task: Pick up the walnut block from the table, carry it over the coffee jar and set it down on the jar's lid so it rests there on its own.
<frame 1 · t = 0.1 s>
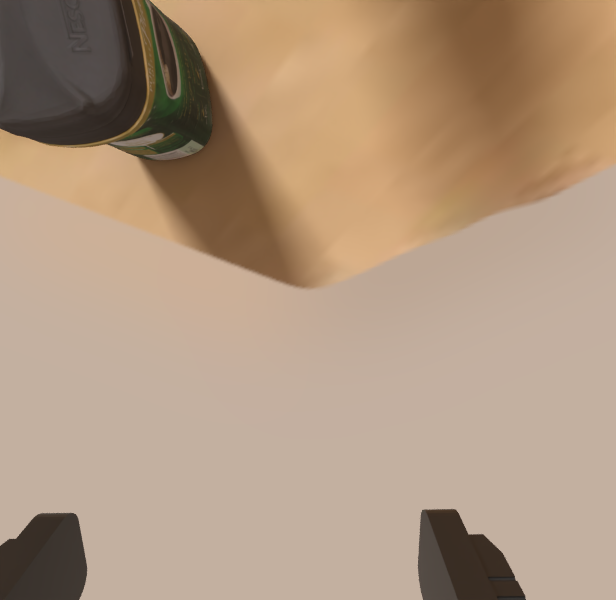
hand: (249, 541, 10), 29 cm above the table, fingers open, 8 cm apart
coffee jar: (163, 99, 35), on the table
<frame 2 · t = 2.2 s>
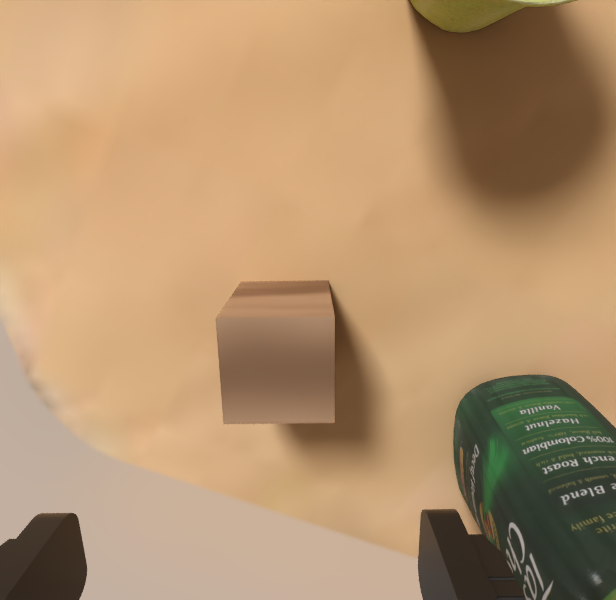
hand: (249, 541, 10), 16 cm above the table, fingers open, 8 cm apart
walnut block: (285, 322, 26), on the table
coffee jar: (507, 437, 28), on the table
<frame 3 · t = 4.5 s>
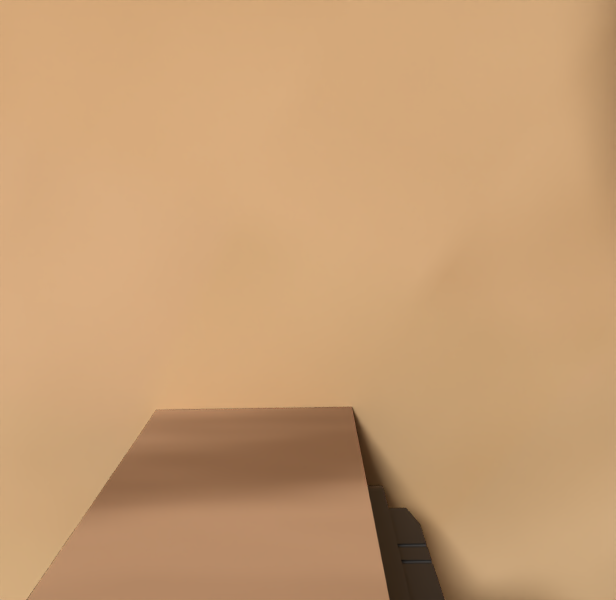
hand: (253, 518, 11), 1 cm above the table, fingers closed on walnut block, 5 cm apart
walnut block: (258, 491, 12), on the table, touching gripper
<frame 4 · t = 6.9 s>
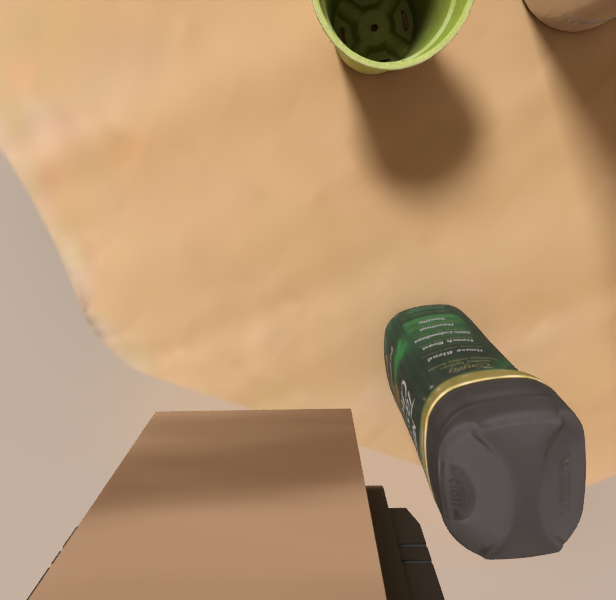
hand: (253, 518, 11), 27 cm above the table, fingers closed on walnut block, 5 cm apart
walnut block: (257, 493, 12), point 26 cm above the table, touching gripper
coffee jar: (424, 353, 39), on the table
plant pot: (371, 31, 32), on the table
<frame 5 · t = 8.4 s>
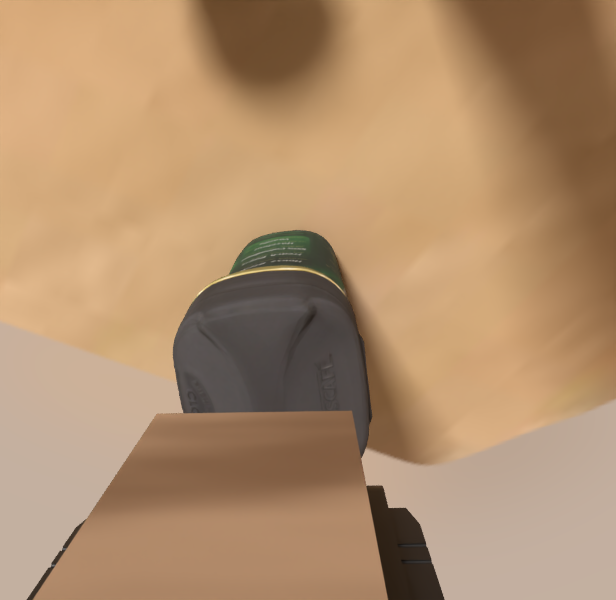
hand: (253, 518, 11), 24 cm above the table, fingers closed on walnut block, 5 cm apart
walnut block: (258, 495, 12), point 23 cm above the table, touching gripper
coffee jar: (291, 291, 34), on the table
when the fingers open (21 cm above the table, at t = 9.7 s): walnut block drops 1 cm, resting on coffee jar.
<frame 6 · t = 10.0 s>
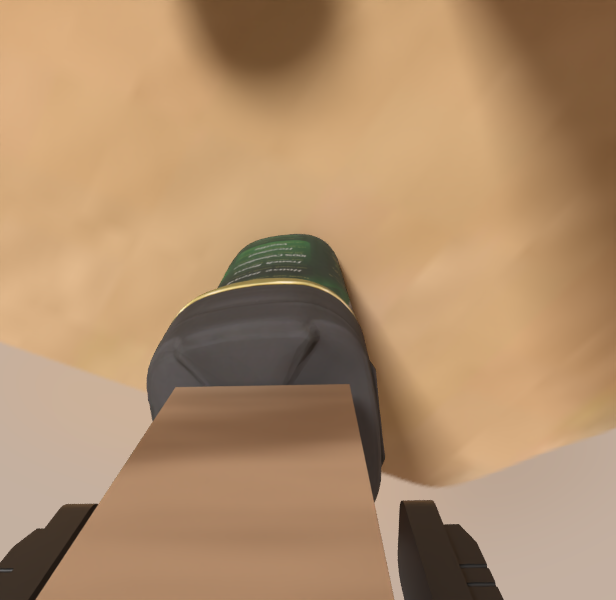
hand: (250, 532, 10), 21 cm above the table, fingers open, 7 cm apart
walnut block: (266, 461, 13), point 19 cm above the table, touching coffee jar
coffee jar: (289, 300, 31), on the table, touching walnut block
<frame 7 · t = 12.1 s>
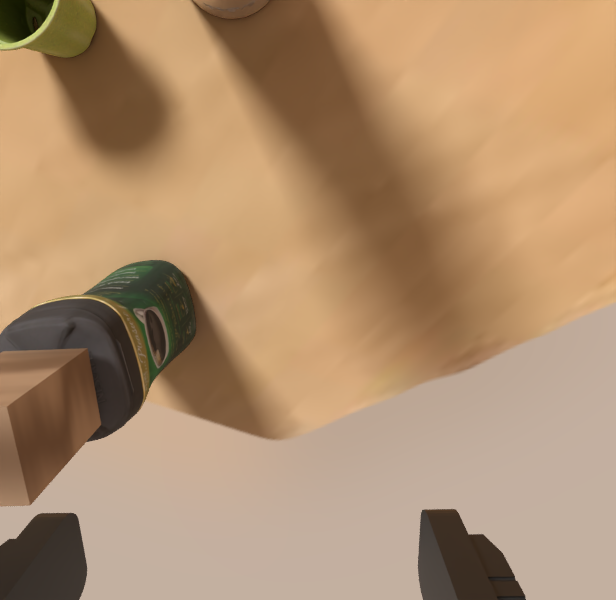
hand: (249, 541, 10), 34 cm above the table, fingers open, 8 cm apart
walnut block: (53, 388, 26), point 18 cm above the table, touching coffee jar
coffee jar: (157, 305, 44), on the table, touching walnut block
plant pot: (62, 20, 38), on the table
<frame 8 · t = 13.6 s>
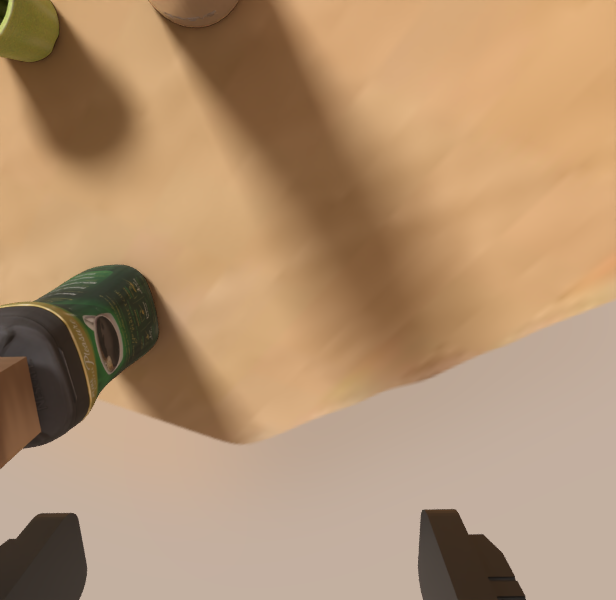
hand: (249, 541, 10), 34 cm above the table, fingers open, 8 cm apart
coffee jar: (121, 309, 44), on the table, touching walnut block
plant pot: (26, 25, 38), on the table
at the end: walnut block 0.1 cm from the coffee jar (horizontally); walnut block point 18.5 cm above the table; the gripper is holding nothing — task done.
